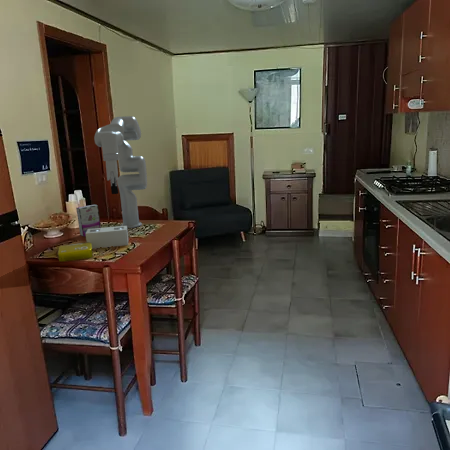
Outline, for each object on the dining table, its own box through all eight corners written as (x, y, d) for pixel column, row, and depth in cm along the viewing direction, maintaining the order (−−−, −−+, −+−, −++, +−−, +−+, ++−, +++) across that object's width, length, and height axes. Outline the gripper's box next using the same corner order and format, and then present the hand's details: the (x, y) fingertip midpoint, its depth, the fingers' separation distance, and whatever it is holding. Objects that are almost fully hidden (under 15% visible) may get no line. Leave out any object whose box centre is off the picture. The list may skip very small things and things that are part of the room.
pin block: (89, 243, 217) (87, 229, 216) (128, 240, 221) (126, 225, 219) (87, 248, 208) (85, 233, 206) (128, 244, 211) (126, 229, 210)
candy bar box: (97, 231, 244) (94, 204, 241) (101, 232, 241) (98, 205, 237) (79, 235, 237) (75, 207, 234) (83, 236, 234) (79, 208, 230)
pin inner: (116, 239, 217) (115, 228, 215) (124, 238, 217) (122, 227, 216) (115, 241, 213) (114, 229, 211) (123, 240, 214) (122, 229, 212)
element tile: (92, 250, 207) (90, 240, 206) (93, 258, 193) (91, 248, 192) (60, 254, 202) (58, 245, 201) (58, 263, 188) (57, 253, 187)
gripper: (104, 156, 212) (108, 192, 216) (102, 158, 198) (106, 196, 202) (119, 155, 213) (123, 191, 218) (118, 157, 199) (122, 195, 203)
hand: (115, 193), depth 210 cm, fingers closed
